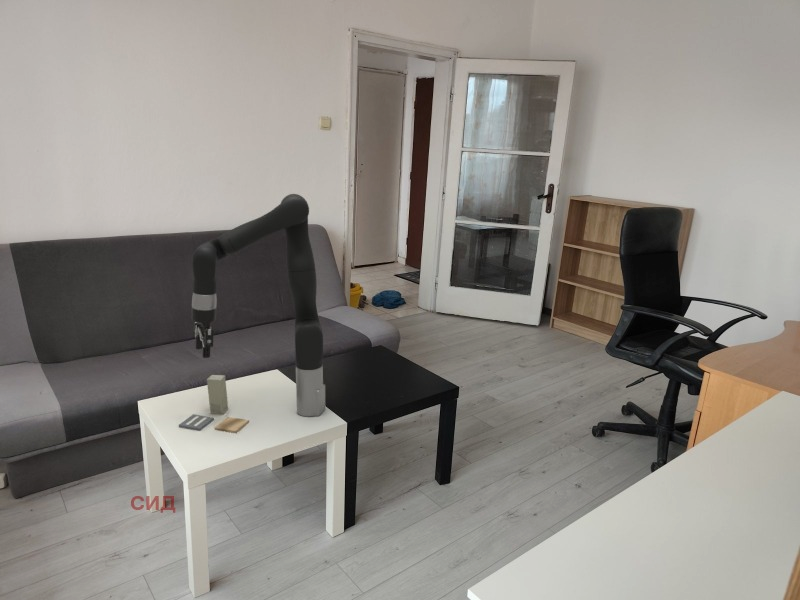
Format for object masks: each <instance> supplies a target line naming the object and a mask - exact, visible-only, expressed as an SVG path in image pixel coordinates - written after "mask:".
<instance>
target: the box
mask: <svg viewBox="0 0 800 600" xmlns="http://www.w3.org/2000/svg"><path fill="white" fill-rule="evenodd" d="M206 385H207V394H208V403H209V405H208V406H209V413H210V414H220V415H223V414H225V413H226V412H227V411H228V409H229V404H228V403H229V402H228V401H229V400H228V393H227V392H228V391H227V383H226V375H225V374H222V375H221V374H211V375H210V376H209V377H208V378H207V379H206Z"/></svg>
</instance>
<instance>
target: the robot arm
mask: <svg viewBox="0 0 800 600" xmlns="http://www.w3.org/2000/svg"><path fill="white" fill-rule="evenodd" d="M309 215H310V207H309V203H308V201H307V200H306V199H305V198H304V197H303V196H302V195H300V194H297V193H290V194H288V195H285V197H283V198H282V200H281V202H280V203H279V204H278V205H277V206H275V207H274V208H273V209H272V210H270V211H268V212H267V213H265V214H263V215H261V216H260V217H258V218H255V219H252V220H249V221H247V222H245V223H242V224H241V225H240V224H239V225H238V226H236V227H234V228H232V229H230V230H228V231H226V232H225V233H223V234H221V235H220V236H218V237H214V238H213V239H211V240H208V241H205V242H204V243H201V244H200V245H199V246H198V247H197V248H196V249H195V250H194V251H193V254H192V271H193V272H192V273H193V281H192V282H193V285H192V298H191V320H192V321H193V332H192V333H193V335H194V338H195V349H196V350H202V358H203V359H207V358H208V359H209V358H210V357H211V348H213V347H214V328H212V326H211V323H213V322H215V321H216V320H217V300H218V299H217V298H218V297H217V277H216V266H217V262H218V261H220V260H222V259H223V258H226V257H228V256H231V255H232V256H233V255H235V254H238V252H240V251H243V250H244V249H247V248H248V247H250V246H252V245H254V244H255V243H257V242H259V241H261V240H262V239H264V238H266V237H268V236H269V235H272V234H274V233H276V232H279V231H281V230H284V232H285V239H286V251H285V253H286V255H285V256H286V258H285V259H286V262H285V263H286V270H287V271H286V273H287V280H288V281H287V282H288V285H289V291H290V294H291V298H292V301H293V305H294V347H295V348H294V349H295V350H294V352H295V356H294V357H295V358H294V360H295V391H296V392H295V393H296V395H295V396H296V413H297V414H298V415H300V416H302V417H315V416H316V417H320V416H321V414H322V413H323V412H324V411H325V410H326V384H324V378H323V377H324V376H323V374H324V371H323V370H324V369H323V367H324V364H323V363H324V335H323V334H324V333H323V330H322V326H321V322H320V318H319V313H318V309H317V273H316V271H317V270H316V264H315V258H314V253H313V248H312V245H311V241H310V236H309V235H310V234H309Z"/></svg>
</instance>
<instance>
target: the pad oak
mask: <svg viewBox="0 0 800 600" xmlns="http://www.w3.org/2000/svg"><path fill="white" fill-rule="evenodd" d="M249 423H250V420H249V419H244V418H237V417H231V416H226V417H225V418H224V419H223V420H222V421H221V422H219V423H218V424H216V426H214V427H213V428H214V431H220V432H224V431H225V432H226V433H230V432H231V434H238V433H240V431H242V429H243V428H244V427H246V426H247V425H248V424H249ZM246 424H247V425H246ZM237 432H238V433H237Z"/></svg>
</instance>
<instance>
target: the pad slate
mask: <svg viewBox="0 0 800 600" xmlns="http://www.w3.org/2000/svg"><path fill="white" fill-rule="evenodd" d="M214 420H215V417H213V416H206V415H200V414H192V415H190V416H189V417H187V418H186V419H185V420H183V421H181V422H180V423H179V424H178V428H180V429H181V428H182V429H188V430H193V431H198V432H199V431H202V430H203V429H204V428H205V427H207V426H208V425H210V424H211V423H212V422H213V421H214Z"/></svg>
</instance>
